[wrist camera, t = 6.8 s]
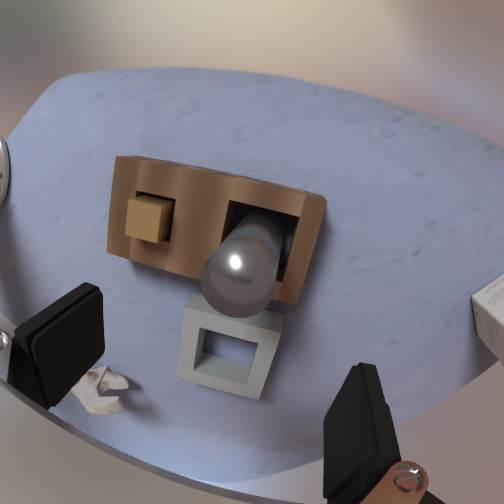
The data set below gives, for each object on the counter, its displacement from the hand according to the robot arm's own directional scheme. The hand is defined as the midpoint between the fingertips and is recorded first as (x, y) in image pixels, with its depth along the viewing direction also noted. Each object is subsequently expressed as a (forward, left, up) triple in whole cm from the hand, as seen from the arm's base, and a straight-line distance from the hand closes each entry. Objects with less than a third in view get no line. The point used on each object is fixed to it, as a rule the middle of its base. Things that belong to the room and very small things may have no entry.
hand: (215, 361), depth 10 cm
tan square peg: (-9, 0, -18) cm, 20 cm away
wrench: (-25, -27, -19) cm, 42 cm away
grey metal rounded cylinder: (0, 0, -18) cm, 18 cm away
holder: (-1, -12, -18) cm, 22 cm away
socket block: (-5, 0, -18) cm, 19 cm away
